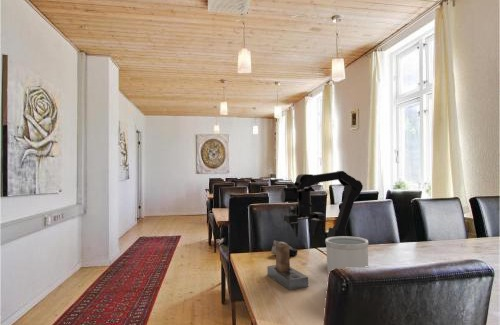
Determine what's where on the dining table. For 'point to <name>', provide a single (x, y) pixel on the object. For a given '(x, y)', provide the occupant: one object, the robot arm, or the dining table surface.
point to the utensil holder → (346, 252)
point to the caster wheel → (291, 250)
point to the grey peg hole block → (288, 278)
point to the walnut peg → (282, 258)
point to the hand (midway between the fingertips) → (305, 236)
